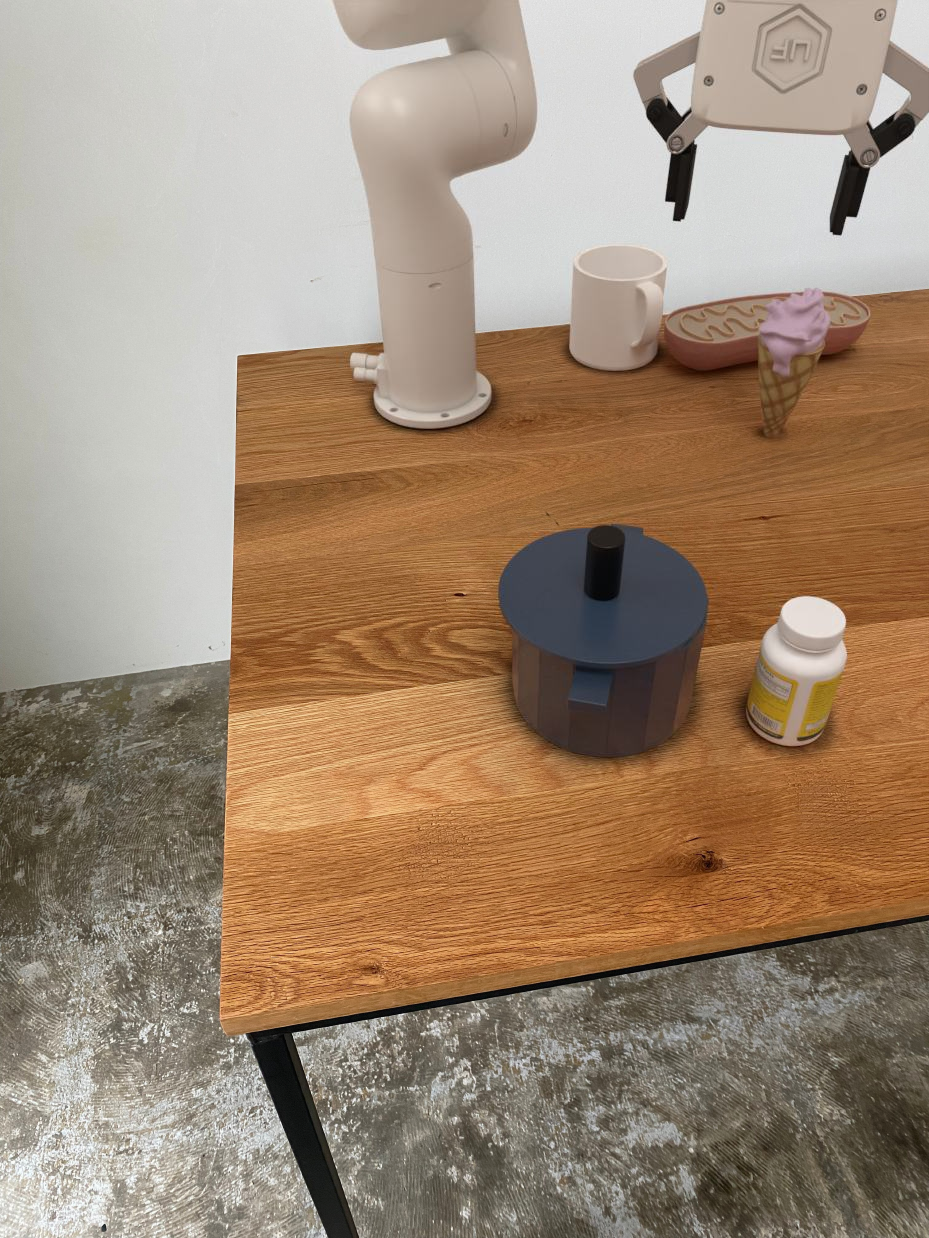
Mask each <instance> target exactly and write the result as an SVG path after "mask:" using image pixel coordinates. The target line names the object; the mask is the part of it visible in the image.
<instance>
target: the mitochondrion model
mask: <svg viewBox="0 0 929 1238" xmlns="http://www.w3.org/2000/svg"><path fill="white" fill-rule="evenodd" d="M821 291H822V293H823V295H824V297H823V300H822V301H823V305H824V310H825V311H826V312H827V313H828V314H829V315H830V319H831V322H830V325H829V327H828V330H827V333H826V336H825V338H824V341H825V346H824V348H823V351H822V353H821V355H820V356H828V355H833V354H837V353H839V352H842V351H844V350H846V349H847V348H849V347H851V346H852V345H853V344H854V343H856V341H858V340H859V339H860V338H861V336H862V335H863V334H864V332H865V330H866V329H867V326H868V325H869V322H870V318H871V316H872V315H871V314H872V313H871V309H870V308H869V307H868V305H867V304H866V303H864V302H862V301H861V300H859V299H858V298H856V297H853V296H850V295H847V294H843V293H839V292H834V291H823V290H821ZM803 293H804V291H795V292H794V291H793V292H778V293H777V292H776V293H765V294H764V293H763V294H754V295H753V294H752V295H745V296H737V297H731V298H723V299H718V300H713V301H709V302H708V301H707V302H702V303H698V304H694V305H689V306H688V305H687V306H684V307H680V308H678V309H674V310H672V312H670V313H669V314H668V315H667V316H666V317H665V319H664V325H663V326H664V327H663V330H664V331H663V334H664V335H663V336H664V341H665V345H666V347H667V349H668V350H669V352H670V354H671V355H672V356H673V358H675V359H676V360H677V362H679V363H680V364H681V365H683V366H685V367H687V368H689V369H692V370H696V371H712V370H717V369H720V368H727V367H730V366H735V365H740V364H745V363H751V362H758V337H759V334H760V332H759V326H760V324H762V322H765V321H766V320H767V318H768V316H769V312H768V311H767V310H766V307H765V306H766V305H767V304H769V303H770V302H771V301H772V300H774V299H779V300H781V301H785V300H787V299H790V295H791V294H797V295H800V296H802V295H803Z"/></svg>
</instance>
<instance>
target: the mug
mask: <svg viewBox="0 0 929 1238" xmlns="http://www.w3.org/2000/svg"><path fill="white" fill-rule="evenodd" d="M667 270H668V260H667V259H666V257H665V256H664V255H663V254H661V253H660V252H659V251H656V250H654V249H652V248H649V247H645V246H641V245H634V244H624V243H615V244H614V243H613V244H603V245H595V246H592V247H590V248H586V249H584V250H582V251H580V252H579V253H578V254H577V255H576V256H575V257H574V259H573V262H572V283H571V303H570V304H571V305H570V325H569V345H568V346H569V348H568V349H569V351H570V355H571V356H572V357H573V358H574V360H575V361H576V362H578V363H580V364H582V365H583V366H586V367H589V368H591V369H596V370H600V371H610V372H621V371H622V372H623V371H630V370H636V369H639V368H641V367H644V366H646V365H648V364H649V363H651V362H652V361H653V360H654V358H655V357H656V356H657V353H658V346H659V338H660V330H661V325H662V320H663V314H664V307H665V306H664V305H665V301H664V297H665V296H664V295H665V287H666V277H667Z"/></svg>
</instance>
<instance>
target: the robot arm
mask: <svg viewBox="0 0 929 1238" xmlns="http://www.w3.org/2000/svg"><path fill="white" fill-rule="evenodd" d="M898 1H899V0H706V2H705V6H704V12H703V17H702V22H701V27H700V30H699V31H698V32H696V33H694V34H691V35H690V36H688V37H685V38H684V39H682V40H680V41H678V42H676V43H674V44H672V45H670V46H667V47H666V48H664V49H662V50H660V51H658V52H656V53H653V54H652V55H650V56H648V57H646V58H644V59H642V60H641V61H639V62H638V63H637V65H636V67H635V69H634V70H633V74H632V77H633V80H634V83H635V85H636V89H637V91H638V95H639V97H640V100H641V103H642V104H643V107H644V110H645V116H646V118H647V120H648V121H649V123H650V124H651V126H652V127H653V128H654V129H655V131H656V132H657V133H658V135H659V136H660V137H661V138H662V140H663V142H664V143H665V144H666V149H667V151H668V152H669V153H670V157H669V166H668V173H667V181H666V188H665V198H664V202H665V203H674V207H673V214H672V222H682V220H683V221H684V220H685V218H686V216H687V211H688V208H689V203H690V200H691V199H690V197H691V191H692V184H693V177H694V172H695V171H694V170H695V164H696V156H697V150H698V144H697V143H696V139H697V138H698V137H699V136H700V135H701V134H702V133H703V131H705V130H706V129H707V128H708V127H713V128H719V129H727V130H738V131H739V130H740V131H753V132H766V133H767V132H768V133H782V134H796V135H797V134H798V135H799V134H800V135H812V136H813V135H817V136H842V135H843V137H844V139H845V142H846V143H847V144H848V146H849V148H850V150H849V151H848V154H844V157H843V161H842V165H841V169H840V174H839V177H838V181H837V185H836V189H835V193H834V197H833V202H832V205H831V209H830V214H829V233H832V236H839V237H840V236H841V237H842V235H843V232H844V228H845V224H846V220H847V218H858V215H859V212H860V209H861V206H862V205H861V204H862V201H863V197H864V194H865V189H866V186H867V183H868V180H869V179H868V178H869V176H870V175H869V174H870V171H871V168H872V167H874V166H875V165H877V164H878V162H879V161H880V159H881V158H883V157H884V156H885V155H886V154H888V153H889V152H890V151H892V150H893V149H895V148H896V147H897V146H898V145H900V144H901V143H903V142H904V141H906V140H907V139H908V138H909V137H911V136H912V135H913V133H914V132H915V129H916V128H917V126H919V124H920V123H921V121H923V120H924V119H925V117H926V116H928V114H929V67H928V66H927V65H925V64H924V63H923V62H921V61H919V59H917V58H915V57H914V56H913V55H912V54H909V53H908V52H907V51H906V50H904V49H902V48H901V47H900V46H898V45H897V44H896V43H894V42H893V41H892V40H890V39H891V36H892V30H893V26H894V22H895V17H896V11H897V6H898ZM332 3H333V6H334V10H335V13H336V15H337V18H338V21H339V23H340V25H341V28H342V30H343V32H344V33H345V35H346V36H347V38H348V39H349V41H351V43H352V44H354V45H355V46H356V47H359V48H361V49H362V50H371V51H385V50H392V49H400V48H403V47H408V46H414V45H419V44H425V43H429V42H430V43H431V42H433V41H439V40H443V39H445V42H446V45H447V47H448V51H449V54H450V55H445V56H437V57H436V56H435V57H432V58H427V59H423V60H418V61H413V62H409V63H405V64H400V65H396V66H394V67H390V68H387V69H385V70H383V71H380V72H378V73H376V74H375V75H373V76H371V77H370V78H368V79H367V80H366V81H365V82H364V83H363V84H362V85H361V86H360V87H359V89H358V90H357V92H356V94H355V95H354V97H353V100H352V102H351V106H350V111H349V129H350V130H349V131H350V136H351V141H352V145H353V150H354V153H355V157H356V160H357V163H358V167H359V172H360V174H361V175H360V176H361V178H362V182H363V186H364V191H365V196H366V201H367V208H368V213H369V219H370V228H371V236H372V245H373V256H374V261H375V262H374V263H375V273H376V284H377V294H378V304H379V314H380V325H381V326H380V327H381V334H382V345H383V346H382V347H383V352H380V353H379V354H378V355H374V354H370V353H364V352H363V353H361V352H352V353H351V355H350V358H349V366H350V370H351V371H352V372H353V373H352V374H353V380H354V381H355V382H356V381H357V382H373V383H374V385H375V387H374V390H373V403H374V407H375V410H376V411H377V412H378V413H379V415H381V416H382V417H383V418H385V419H386V420H388V421H389V422H391V423H394V424H396V425H399V426H403V427H406V428H411V429H413V428H414V429H419V430H420V429H421V430H424V429H425V430H434V429H445V428H449V427H456V426H458V425H462V424H465V423H467V422H470V421H471V420H474V419H476V418H477V417H478V416H480V415H482V414H483V413H484V412H485V411H486V410H487V409H488V408H489V406H490V404H491V401H492V396H493V395H492V385H491V383H490V381H489V380H488V379H487V377H486V376H485V375H484V374H482V373H481V372H479V371H478V370H477V339H476V335H477V333H476V300H475V299H476V298H475V295H476V294H475V260H474V259H475V258H474V236H473V229H472V225H471V222H470V218H469V217H468V213H466V211H465V209H464V207H462V205H461V204H460V203H459V201H458V200H457V197H456V196H455V195H454V193H453V190H452V188H451V182H452V181H453V180H454V179H457V178H460V177H462V176H465V175H467V174H471V173H473V172H477V171H480V170H484V169H488V168H490V167H494V166H498V165H500V164H504V163H506V162H508V161H511V160H513V159H516V158H517V157H518V156H520V155H521V154H523V152H524V151H525V150H526V149H527V148H528V147H529V145H530V144H531V142H532V140H533V139H534V138H533V137H534V134H535V132H536V129H537V121H538V97H537V90H536V81H535V75H534V71H533V67H532V61H531V56H530V51H529V45H528V41H527V35H526V30H525V25H524V21H523V20H524V19H523V15H522V10H521V6H520V5H521V4H520V0H332ZM693 64H694V69H693V76H692V84H691V93H690V106H689V107H688V108H687V110H686V111H685V112H683V114H682V115H681V114H680V112H678V110H677V108H676V107H675V106H674V104H673V103H672V102H671V100H670V99H669V98H668V97H667V95H666V91H665V88H664V85H663V79H665V78H666V77H669V76H671V75H673V74H674V73H677V72H679V71H682V70H683V69H685V68H687V67H689V66H691V65H693ZM883 74H884V75H885V76H887V77H888V78H889V79H891V80H892V81H894V82H895V83H896V84H898V85H899V86H900V87H902V88H903V89H905V90H906V91H907V92H908V93H909V95H908V96H907V98H906V99H905V101H904V102H903V104H902V105H901V107H900V108H899V109H898V110H896V111H895V112H894V113H892V114H891V115H889V117H887V118H886V119H885V120H883V121H881V123H880V124H878V125H876V126H875V127H874V126H873V125H872V123H871V121H870V117H871V115H872V112H873V110H874V105H875V103H876V100H877V97H878V94H879V93H878V92H879V89H880V85H881V82H882V81H881V80H882V76H883Z"/></svg>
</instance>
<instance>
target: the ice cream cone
mask: <svg viewBox="0 0 929 1238" xmlns="http://www.w3.org/2000/svg"><path fill="white" fill-rule="evenodd" d="M822 291H823V290H821V289H820V288H818V287H815V288H813V289H812V288H810V287H806V288H804V291H803V292H804V293H803V295H802V296H800V295H797V294H791V295H790V299H787V300H785V301H781V300H779V299H774V300H772V301H771V302H770V303H769V304H767V305H766V306H765V307H766V310H767V311H768V312H769V316H768V318H767V320H766V321H765V322H762V324H760V326H759V332H760V334H759V337H758V360H757V367H758V368H757V369H758V370H757V371H758V387H759V388H758V389H759V396H760V397H759V398H760V399H759V400H760V409H761V418H762V419H761V420H762V426H763V435H764V436H765V437H767V438H771V439H775V438H778V436H779V434H780V433H781V432H782V430H783V428H784V427H785V425H786V423H787V422H788V419H789V418H790V416H791V414H792V412H793V411H794V409H795V407H796V406H797V404H798V402H799V400H800V398H801V396H802V394H803V392H804V391H805V389H806V387H807V385H808V383H809V381H810V379H811V377H812V375H813V373H814V371H815V368H816V367H817V364H818V361H819V359H820V358H821V356H822V355H821V353H822V351H823V348H824V346H825V341H824V338H825V336H826V333H827V330H828V327H829V325H830V322H831V319H830V315H829V314H828V313H827V312H826V311H825V310H824V305H823V301H822V300H823V297H824V295H823V293H822Z"/></svg>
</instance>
